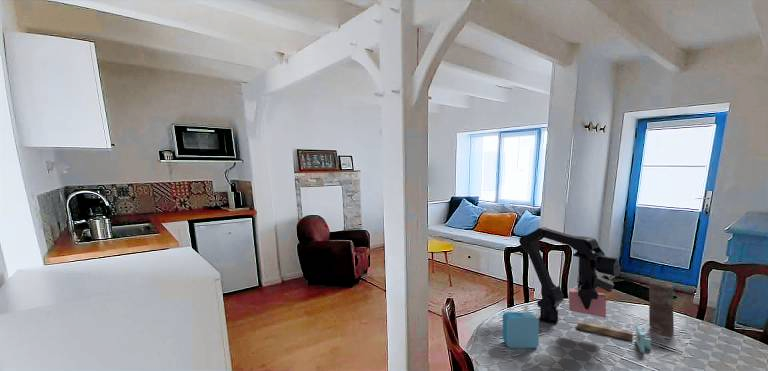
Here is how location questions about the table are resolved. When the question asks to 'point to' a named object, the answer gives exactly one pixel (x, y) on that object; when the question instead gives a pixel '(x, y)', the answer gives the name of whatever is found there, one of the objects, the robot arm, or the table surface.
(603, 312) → the boxed book
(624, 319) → the table surface
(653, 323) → the brown tall block
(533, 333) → the data package
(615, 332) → the rail
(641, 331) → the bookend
